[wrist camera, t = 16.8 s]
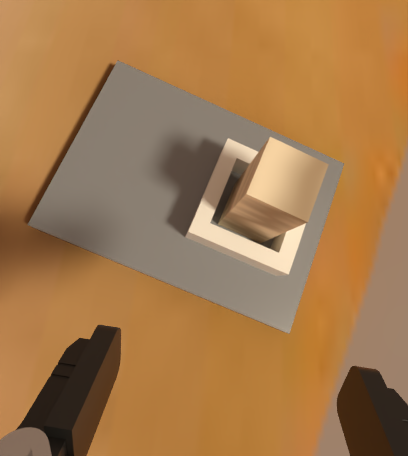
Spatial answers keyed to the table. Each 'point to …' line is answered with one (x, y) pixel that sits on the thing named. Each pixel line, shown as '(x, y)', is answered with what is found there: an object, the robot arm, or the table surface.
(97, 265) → the table surface
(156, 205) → the jig board
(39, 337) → the table surface
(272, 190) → the block
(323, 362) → the table surface
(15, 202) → the table surface
